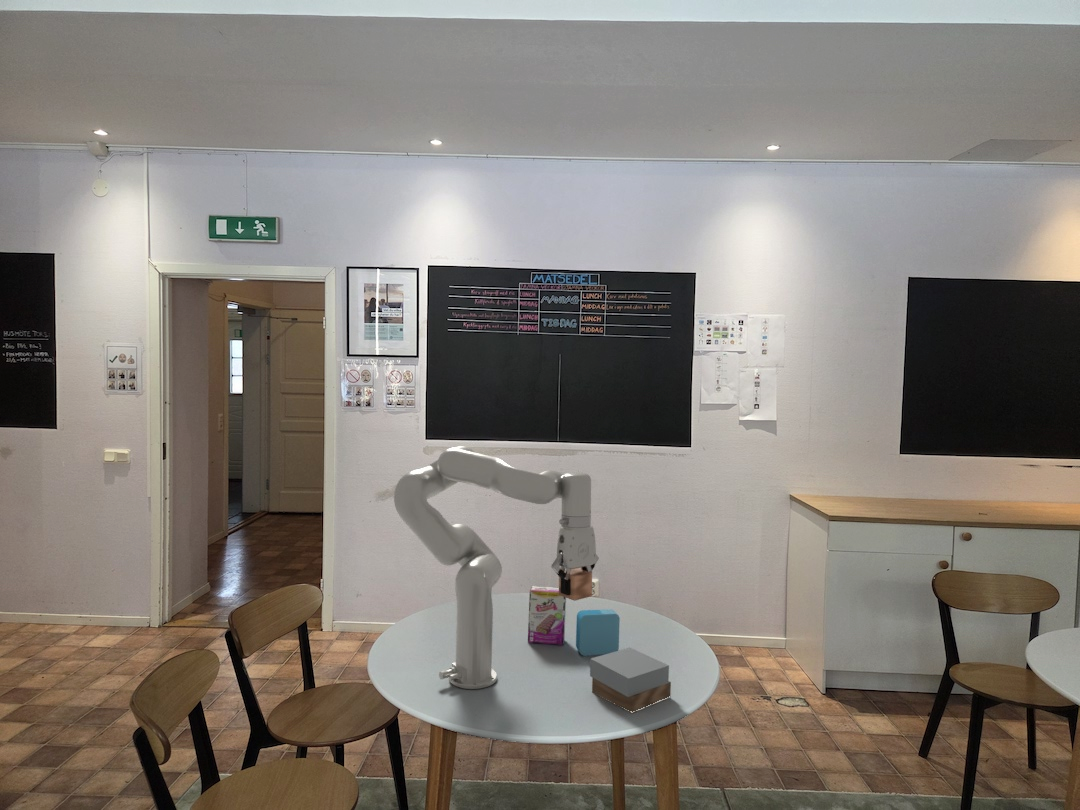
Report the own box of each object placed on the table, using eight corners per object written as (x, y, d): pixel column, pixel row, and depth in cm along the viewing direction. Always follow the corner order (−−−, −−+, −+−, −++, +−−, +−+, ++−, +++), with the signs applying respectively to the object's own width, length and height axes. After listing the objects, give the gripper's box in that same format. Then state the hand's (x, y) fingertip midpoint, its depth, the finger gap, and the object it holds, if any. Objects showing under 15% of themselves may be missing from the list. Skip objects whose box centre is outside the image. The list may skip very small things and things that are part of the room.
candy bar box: (527, 643, 201) (528, 590, 201) (529, 637, 206) (530, 585, 206) (564, 646, 200) (565, 592, 200) (565, 639, 205) (566, 587, 205)
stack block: (574, 600, 165) (574, 576, 165) (558, 594, 170) (558, 571, 170) (591, 596, 169) (592, 572, 169) (575, 590, 174) (576, 568, 174)
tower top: (628, 697, 159) (628, 678, 158) (589, 676, 170) (590, 658, 170) (668, 683, 167) (668, 665, 167) (629, 663, 178) (629, 647, 178)
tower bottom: (632, 715, 159) (632, 697, 159) (592, 693, 170) (592, 676, 170) (670, 699, 168) (670, 682, 168) (629, 680, 178) (630, 663, 178)
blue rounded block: (614, 648, 200) (615, 608, 199) (618, 654, 195) (620, 613, 195) (575, 650, 197) (576, 610, 197) (579, 656, 193) (580, 615, 192)
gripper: (560, 527, 161) (559, 601, 161) (610, 520, 172) (609, 589, 172) (540, 523, 167) (540, 594, 167) (590, 515, 178) (589, 582, 178)
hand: (575, 591), depth 169 cm, fingers closed on stack block, 6 cm apart
